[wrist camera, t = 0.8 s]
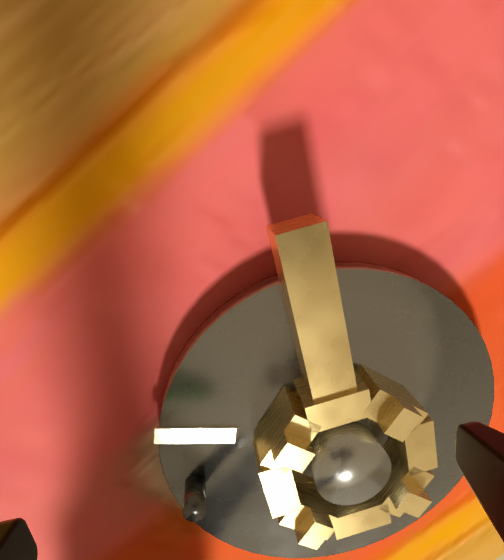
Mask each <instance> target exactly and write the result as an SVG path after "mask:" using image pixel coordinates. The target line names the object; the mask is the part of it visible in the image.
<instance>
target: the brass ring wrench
mask: <svg viewBox="0 0 504 560" xmlns="http://www.w3.org/2000/svg"><path fill="white" fill-rule="evenodd" d="M266 228H267V232H268V236H269V240H270V245H271V249H272V253H273V257H274V261H275V266H276V270H277V274H278V278H279V282H280V287H281V291H282V295H283V299H284V304H285V308H286V312H287V316H288V320H289V325H290V329H291V333H292V337H293V341H294V346H295V350H296V354H297V358H298V362H299V367H300V371H301V375H302V377H300V378H297V379H293V382H294V386H295V390H296V391H295V390H293V389H291V388H288V387H286V386H284V387H283V388H282V390H281V391H280V393H279V394H278V396H277V397H276V399H275V400H274V402H273V403H272V405H271V406H270V408H269V409H268V410H267V412H266V413H265V415H264V416H263V418H262V419H261V421H260V422H259V424H258V425H257V427H256V428H255V430H254V435H255V438H254V439H252V440H253V446H254V451H255V457H256V462H257V467H258V473H259V476H260V480H261V483H262V486H263V489H264V492H265V495H266V498H267V501H268V505H269V508H270V511H271V514H272V517H273V518H276V517H278V522H279V524H280V525H283V526H286V527H289V528H292V529H294V530H295V534H296V537H297V541H298V544H300V545H303V546H306V547H309V548H312V549H315V550H317V549H318V548H319V547H320V545H321V544H322V543H323V542H324V540H328V539H329V537H330V536H331V535H332V534H333V532H334V534H335V536H336V539H337V540H339V539H342V538H345V537H348V536H352V535H355V534H358V533H361V532H364V531H367V530H371V529H374V528H377V527H380V526H383V525H387V524H390V523H391V518H390V514H392V515H394V516H397V517H401V516H402V514H403V513H407V514H409V515H412V516H415V517H417V518H419V517H420V516H421V515H422V513H423V512H424V511H425V510H426V509H427V508H428V506H429V505H430V504H431V503H432V501H431V499H430V498H429V496H428V495H427V493H426V492H425V490H424V488H425V487H426V486H427V485H428V484H429V482H430V481H431V480H432V479H433V478H434V476H435V475H434V474H433V472H432V471H431V469H435V468H438V463H437V453H436V442H435V432H434V422H433V420H432V418H431V417H430V416H429V415H428V412H427V411H426V410H425V409H424V408H423V407H422V406H421V404H420V403H419V402H418V401H417V400H416V399H415V398H414V397H413V395H412V394H411V393H410V392H409V391H408V390H407V389H406V388H405V386H403V385H401V384H399V383H397V382H396V381H394V380H392V379H390V378H388V377H386V376H384V375H382V374H380V373H378V372H376V371H374V370H372V369H370V368H368V367H366V366H364V365H362V364H359V365H358V367H357V368H356V370H355V369H354V368H353V362H352V356H351V351H350V345H349V340H348V334H347V329H346V323H345V318H344V312H343V306H342V301H341V295H340V290H339V284H338V279H337V273H336V267H335V262H334V256H333V251H332V245H331V240H330V234H329V228H328V223H327V221H326V220H324V219H322V218H320V217H318V216H316V215H314V214H313V213H311V214H307V215H304V216H300V217H296V218H293V219H289V220H285V221H282V222H278V223H274V224H271V225H267V226H266ZM364 418H368V419H371V420H373V421H375V422H377V424H378V425H379V427H380V428H381V430H382V431H383V433H384V434H386V435H387V437H388V439H387V441H386V442H385V443H384V444H383V448H384V450H385V451H386V453H387V454H388V456H389V458H390V461H391V474H390V477H389V480H388V482H387V483H386V485H385V486H384V487H383V489H382V490H381V491H380V492H379V493H377V494H376V495H375V496H373V497H372V498H370V499H368V500H366V501H364V502H361V503H358V504H354V505H337V504H333V503H331V502H329V501H327V500H325V499H324V498H323V497H322V496H321V495H320V494H319V492H318V490H317V487H316V484H315V482H314V479H313V477H311V476H308V475H306V474H303V473H302V472H303V471H304V469H305V468H306V467H307V465H308V464H309V463H310V461H311V460H312V459H313V457H314V456H315V455H316V454H315V451H314V449H313V446H312V444H311V441H312V440H313V439H314V437H315V436H316V434H317V433H318V432H321V431H324V430H328V429H331V428H334V427H337V426H341V425H344V424H347V423H351V422H354V421H357V420H361V419H364ZM295 470H296V471H295ZM300 472H301V473H300Z"/></svg>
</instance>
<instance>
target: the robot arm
mask: <svg viewBox="0 0 504 560" xmlns="http://www.w3.org/2000/svg"><path fill="white" fill-rule="evenodd" d="M455 458H456V462H457V464H458V466H459V468H460V470H461V471H462V473H463V475H464V476H465V478H466V480H467V482H468V483H469V485H470V487H471V488H472V490H473V492H474V493H475V495H476V497H477V498H478V500H479V502H480V504H481V505H482V507H483V509H484V510H485V512H486V514H487V515H488V517H489V519H490V520H491V522H492V524H493V525H494V527H495V529H496V530H497V532H498V534H499V535H500V537H501V538H502V540H503V542H504V433H502V432H499V431H497V430H495V429H493V428H491V427H489V426H487V425H485V424H482V423H480V422H469V423H464V424H460V425H458V427H457V429H456V442H455ZM0 560H37V546H36V543H35V541H34V539H33V537H32V535H31V532H30V530H29V528H28V526H27V524H26V522H25V520H23V519H22V518H16V519H11V520H6V521H2V522H0Z"/></svg>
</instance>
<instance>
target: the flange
mask: <svg viewBox="0 0 504 560" xmlns="http://www.w3.org/2000/svg"><path fill="white" fill-rule="evenodd" d="M335 267H336V273H337V279H338V284H339V290H340V295H341V301H342V306H343V312H344V318H345V323H346V329H347V334H348V340H349V345H350V351H351V356H352V362H353V368H354V369H355V370H356V368H357V367H358V365H359V364H362V365H364V366H366V367H368V368H370V369H372V370H374V371H376V372H378V373H380V374H382V375H384V376H386V377H388V378H390V379H392V380H394V381H396V382H397V383H399V384H401V385H403V386H405V388H406V389H407V390H408V391H409V392H410V393H411V394H412V395H413V397H414V398H415V399H416V400H417V401H418V402H419V403H420V404H421V406H422V407H423V408H424V409H425V410H426V411H427V412H428V415H429V416H430V417H431V418H432V420H433V422H434V432H435V442H436V453H437V463H438V468H435V469H431V471H432V472H433V474H434V475H435V476H434V478H433V479H432V480H431V481H430V482H429V484H428V485H427V486H426V487H425V488H424V490H425V492H426V493H427V495H428V496H429V498H430V499H431V501H432V503H431V504H430V505H429V506H428V508H427V509H426V510H425V511H424V512H423V513H422V515H421V516H420V517H422V516H423V515H424V514H426V513H427V512H428V511H430V510H431V509H432V508H433V507H434V506H435V505H436V504H438V503H439V502H440V501H441V500H442V499H443V498H444V497H445V496H446V495H447V494H448V493H449V492H450V491H451V490H452V489H453V487H454V486H455V485H456V484H457V483H458V482H459V481H460V479H461V478H462V476H463V473H462V471H461V470H460V468H459V466H458V464H457V462H456V458H455V442H456V429H457V427H458V425H460V424H464V423H469V422H480V423H482V424H485V425H487V426H489V422H490V419H491V415H492V408H493V401H494V376H493V370H492V364H491V360H490V357H489V354H488V351H487V348H486V345H485V343H484V341H483V339H482V337H481V335H480V333H479V331H478V329H477V328H476V326H475V325H474V324H473V323H472V321H471V320H470V319H469V317H468V316H467V315H466V313H465V312H464V311H462V310H461V309H460V308H459V307H458V306H457V305H456V304H455V303H454V302H453V301H452V300H450V299H449V298H447V297H446V296H444V295H443V294H441V293H440V292H438V291H437V290H435V289H434V288H432V287H430V286H429V285H427V284H425V283H423V282H422V281H420V280H418V279H416V278H414V277H412V276H409V275H407V274H405V273H403V272H401V271H398V270H394V269H391V268H387V267H384V266H380V265H375V264H368V263H361V262H335ZM300 377H302V375H301V371H300V367H299V362H298V358H297V354H296V350H295V346H294V341H293V337H292V333H291V329H290V325H289V320H288V316H287V312H286V308H285V304H284V299H283V295H282V291H281V287H280V282H279V278H278V274H276V275H274V276H271V277H269V278H266V279H264V280H262V281H260V282H258V283H256V284H254V285H252V286H251V287H249V288H247V289H245V290H243V291H241V292H240V293H238V294H237V295H236V296H234V297H233V298H231V299H230V300H229V301H227V302H226V303H224V304H223V305H222V306H220V307H219V308H218V309H217V310H216V311H215V312H214V313H213V314H212V315H211V316H210V317H209V318H208V319H206V320H205V321H204V322H203V324H202V325H201V326H200V327H199V328H198V330H197V331H196V332H195V333H194V334H193V336H192V337H191V338H190V339H189V341H188V342H187V344H186V345H185V347H184V349H183V350H182V352H181V353H180V355H179V357H178V358H177V360H176V363H175V365H174V367H173V369H172V372H171V374H170V376H169V379H168V382H167V386H166V390H165V393H164V397H163V403H162V409H161V416H160V425H159V427H155V429H154V444H159V455H160V460H161V464H162V469H163V473H164V476H165V478H166V481H167V483H168V485H169V488H170V490H171V492H172V493H173V495H174V497H175V498H176V500H177V502H178V503H179V505H180V506H181V507H182V508H183V516H184V518H185V519H186V520H188V521H192V522H196V523H197V524H198V525H199V526H201V527H202V528H203V529H204V530H205V531H207V532H209V533H210V534H212V535H213V536H215V537H216V538H218V539H220V540H222V541H224V542H226V543H228V544H230V545H232V546H234V547H237V548H240V549H243V550H246V551H249V552H252V553H257V554H262V555H267V556H273V557H284V558H312V557H321V556H329V555H334V554H339V553H344V552H348V551H351V550H355V549H358V548H361V547H365V546H367V545H370V544H372V543H375V542H377V541H380V540H382V539H384V538H386V537H388V536H390V535H392V534H394V533H396V532H398V531H400V530H402V529H403V528H405V527H407V526H408V525H410V524H411V523H413V522H415V521H416V520H418V519H419V518H420V517H419V518H417V517H415V516H412V515H409V514H407V513H403V514H402V516H401V517H397V516H394V515H392V514H390V518H391V523H390V524H387V525H383V526H380V527H377V528H374V529H371V530H367V531H364V532H361V533H358V534H355V535H352V536H348V537H345V538H342V539H339V540H337V539H336V536H335V534H334V532H333V534H332V535H331V536H330V537H329V539H328V540H324V542H323V543H322V544H321V545H320V547H319V548H318V549H317V550H315V549H312V548H309V547H306V546H303V545H300V544H298V541H297V537H296V534H295V530H294V529H292V528H289V527H286V526H283V525H280V524H279V522H278V517H276V518H273V517H272V514H271V511H270V508H269V505H268V501H267V498H266V495H265V492H264V489H263V486H262V483H261V480H260V476H259V473H258V467H257V462H256V457H255V451H254V446H253V440H252V439H254V438H255V435H254V430H255V428H256V427H257V425H258V424H259V422H260V421H261V419H262V418H263V416H264V415H265V413H266V412H267V410H268V409H269V408H270V406H271V405H272V403H273V402H274V400H275V399H276V397H277V396H278V394H279V393H280V391H281V390H282V388H283V387H284V386H286V387H288V388H291V389H293V390H295V386H294V382H293V379H297V378H300ZM295 391H296V390H295ZM387 439H388V437H387V435H386V434H384V433H383V431H382V430H381V428H380V427H379V425H378V424H377V422H375V421H373V420H371V419H368V418H364V419H361V420H357V421H354V422H351V423H347V424H344V425H341V426H337V427H334V428H331V429H328V430H324V431H321V432H318V433H317V434H316V436H315V437H314V439H313V440H312V441H311V444H312V446H313V449H314V451H315V454H316V455H315V456H314V457H313V459H312V460H311V461H310V463H309V464H308V465H307V467H306V468H305V469H304V471H303V472H302V473H303V474H306V475H308V476H311V477H313V479H314V482H315V484H316V487H317V490H318V492H319V494H320V495H321V496H322V497H323V498H324V499H325V500H327V501H329V502H331V503H333V504H337V505H354V504H358V503H361V502H364V501H366V500H368V499H370V498H372V497H373V496H375V495H376V494H377V493H379V492H380V491H381V490H382V489H383V487H384V486H385V485H386V483H387V482H388V480H389V477H390V474H391V461H390V458H389V456H388V454H387V453H386V451H385V450H384V448H383V444H384V443H385V442H386V441H387ZM295 471H296V470H295ZM300 473H301V472H300Z"/></svg>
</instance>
